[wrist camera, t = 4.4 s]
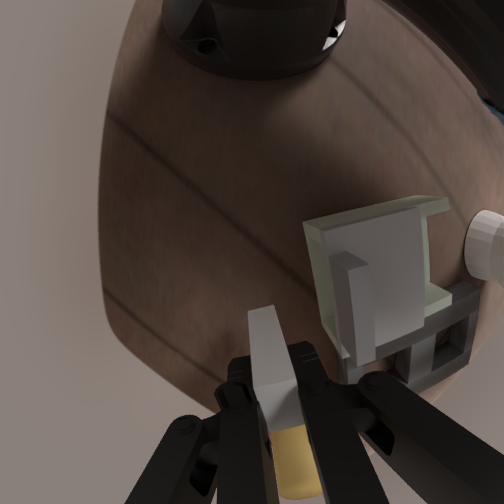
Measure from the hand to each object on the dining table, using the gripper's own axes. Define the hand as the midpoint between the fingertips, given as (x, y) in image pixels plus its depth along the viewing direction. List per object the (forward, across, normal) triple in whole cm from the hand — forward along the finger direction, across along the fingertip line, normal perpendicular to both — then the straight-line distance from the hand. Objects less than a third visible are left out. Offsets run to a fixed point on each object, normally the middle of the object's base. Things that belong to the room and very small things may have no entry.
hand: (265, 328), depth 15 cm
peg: (+6, 0, -10) cm, 12 cm away
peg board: (+6, +14, -10) cm, 18 cm away
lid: (+2, +8, 0) cm, 8 cm away
